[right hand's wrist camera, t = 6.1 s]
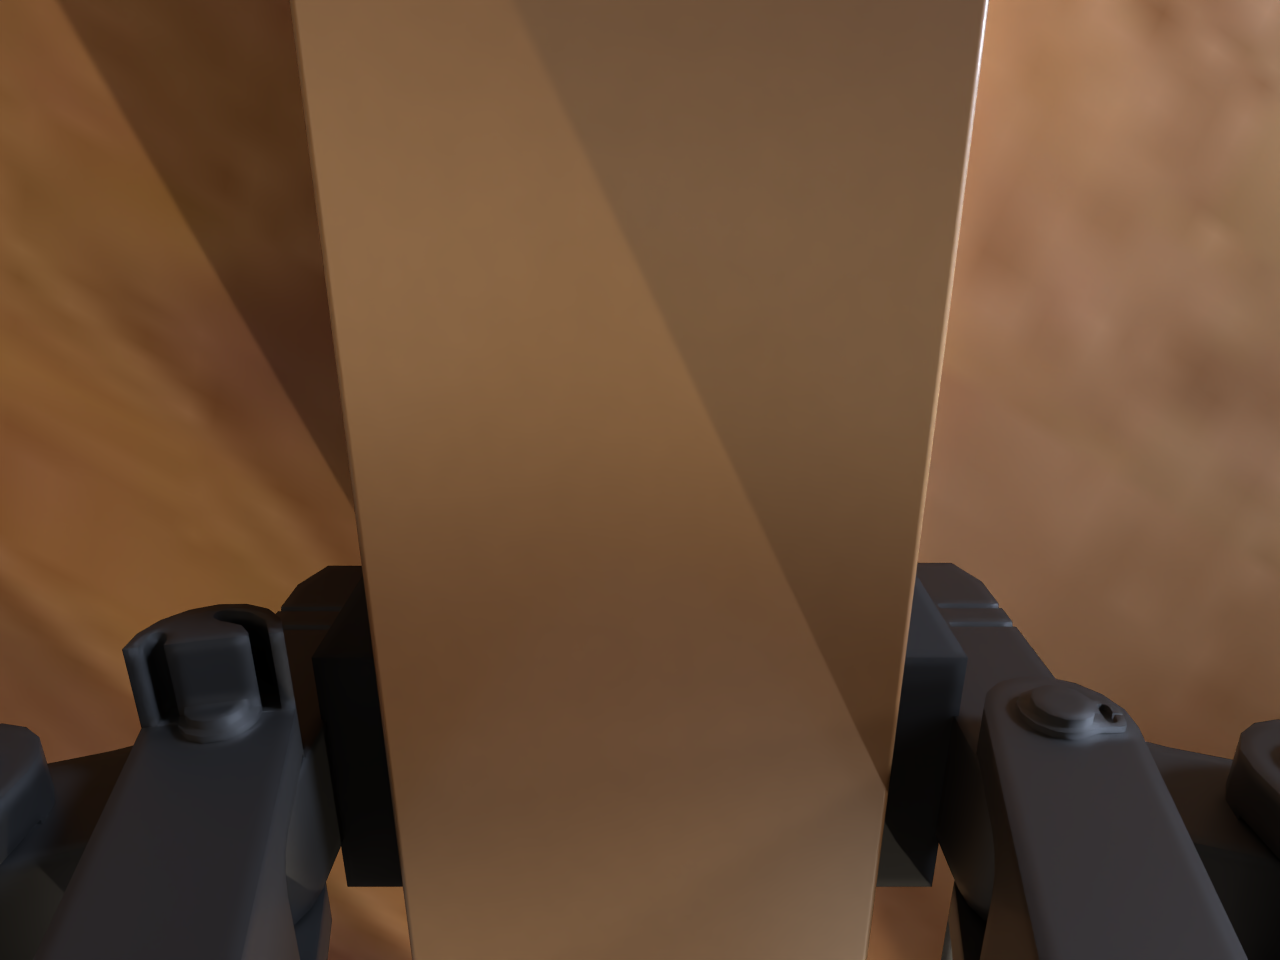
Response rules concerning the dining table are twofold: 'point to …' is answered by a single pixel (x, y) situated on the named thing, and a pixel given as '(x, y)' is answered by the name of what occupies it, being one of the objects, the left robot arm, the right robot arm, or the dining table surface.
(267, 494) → the dining table surface
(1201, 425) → the dining table surface
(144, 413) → the dining table surface
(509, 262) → the post
